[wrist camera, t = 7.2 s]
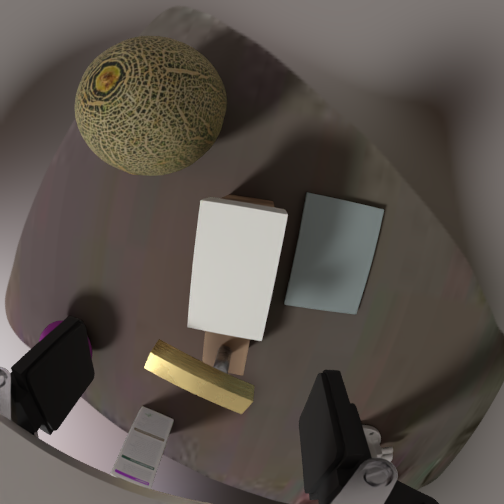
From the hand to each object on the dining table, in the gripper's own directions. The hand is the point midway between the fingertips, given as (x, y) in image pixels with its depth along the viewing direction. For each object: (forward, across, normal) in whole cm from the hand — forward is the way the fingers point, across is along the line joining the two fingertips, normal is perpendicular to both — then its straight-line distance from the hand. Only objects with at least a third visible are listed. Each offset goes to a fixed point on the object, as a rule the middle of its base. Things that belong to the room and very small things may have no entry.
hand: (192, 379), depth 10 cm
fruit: (+21, +8, -12) cm, 25 cm away
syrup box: (+20, +10, +32) cm, 39 cm away
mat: (+20, -10, 0) cm, 22 cm away
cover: (+14, 0, 0) cm, 14 cm away
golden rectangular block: (+15, +1, +9) cm, 17 cm away
